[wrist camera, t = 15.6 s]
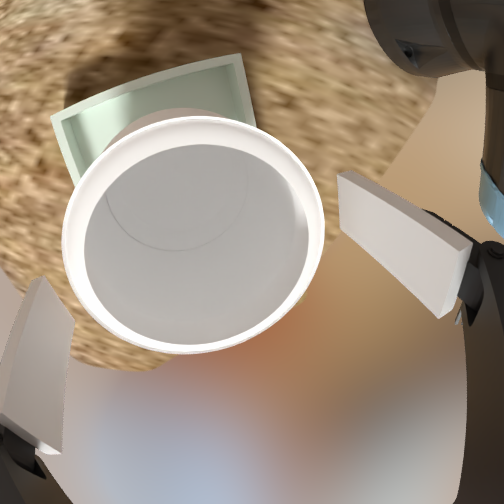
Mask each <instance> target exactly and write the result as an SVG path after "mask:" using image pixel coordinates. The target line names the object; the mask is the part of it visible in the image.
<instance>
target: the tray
mask: <svg viewBox="0 0 504 504" xmlns="http://www.w3.org/2000/svg"><path fill="white" fill-rule="evenodd" d="M171 108H196V109H202V110H207V111H211V112H214V113H217V114H220V115H222V116H224V117H227V118H229V119H231V120H235V121H238V122H242V123H245V124H248V125H250V126H253V127H255V128H257V127H256V122H255V117H254V112H253V107H252V103H251V98H250V93H249V88H248V84H247V79H246V74H245V70H244V65H243V60H242V56H241V53H237V54H231V55H226V56H221V57H216V58H211V59H206V60H202V61H198V62H193V63H189V64H185V65H182V66H178V67H174V68H171V69H167V70H164V71H160V72H157V73H154V74H151V75H147V76H144V77H141V78H138V79H136V80H133V81H130V82H127V83H124V84H122V85H119V86H116V87H114V88H111V89H109V90H106V91H104V92H101V93H99V94H96V95H94V96H92V97H89V98H87V99H85V100H83V101H81V102H78V103H76V104H74V105H72V106H70V107H68V108H66V109H64V110H62V111H60V112H58V113H56V114H54V115H52V116H50V118H51V122H52V125H53V128H54V131H55V134H56V137H57V140H58V143H59V146H60V149H61V152H62V154H63V157H64V160H65V163H66V165H67V168H68V170H69V173H70V176H71V178H72V181H73V183H74V186H75V188H76V186H77V184H78V183H79V181H80V179H81V178H82V176H83V175H84V174H85V172H86V171H87V170H88V168H89V167H90V166H91V165H92V164H93V162H94V161H95V160H96V159H97V158H98V157H99V156H100V155H101V153H102V152H103V150H104V149H105V148H106V146H107V145H108V144H109V143H110V141H111V140H112V139H113V138H114V137H115V136H116V135H117V134H118V133H119V132H120V131H122V130H123V129H124V128H125V127H127V126H128V125H129V124H131V123H132V122H134V121H136V120H138V119H139V118H141V117H144V116H146V115H148V114H151V113H154V112H157V111H161V110H165V109H171Z"/></svg>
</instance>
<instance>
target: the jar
mask: <svg viewBox="0 0 504 504" xmlns="http://www.w3.org/2000/svg"><path fill="white" fill-rule="evenodd" d="M323 243H324V214H323V208H322V203H321V199H320V196H319V193H318V191H317V188H316V186H315V184H314V182H313V180H312V178H311V176H310V174H309V173H308V171H307V170H306V168H305V167H304V165H303V164H302V163H301V161H300V160H299V159H298V158H297V157H296V156H295V155H294V154H293V153H292V152H291V151H290V150H289V149H288V148H287V147H286V146H285V145H283V144H282V143H281V142H279V141H278V140H277V139H275V138H274V137H272V136H271V135H269V134H267V133H265V132H263V131H261V130H259V129H257V128H255V127H253V126H250V125H248V124H245V123H242V122H238V121H235V120H231V119H229V118H227V117H224V116H222V115H220V114H217V113H214V112H211V111H207V110H202V109H196V108H171V109H165V110H161V111H157V112H154V113H151V114H148V115H146V116H144V117H141V118H139V119H138V120H136V121H134V122H132V123H131V124H129V125H128V126H127V127H125V128H124V129H123V130H122V131H120V132H119V133H118V134H117V135H116V136H115V137H114V138H113V139H112V140H111V141H110V143H109V144H108V145H107V146H106V148H105V149H104V150H103V152H102V153H101V155H100V156H99V157H98V158H97V159H96V160H95V161H94V162H93V164H92V165H91V166H90V167H89V168H88V170H87V171H86V172H85V174H84V175H83V176H82V178H81V179H80V181H79V183H78V184H77V186H76V188H75V190H74V192H73V194H72V196H71V198H70V201H69V204H68V207H67V210H66V213H65V217H64V222H63V229H62V255H63V262H64V266H65V270H66V274H67V277H68V280H69V282H70V285H71V287H72V289H73V291H74V293H75V295H76V296H77V298H78V300H79V301H80V303H81V304H82V305H83V307H84V308H85V309H86V311H87V312H88V313H89V314H90V315H91V316H92V317H93V318H94V319H95V320H96V321H97V322H98V323H99V324H100V325H101V326H103V327H104V328H105V329H107V330H108V331H109V332H111V333H112V334H114V335H116V336H117V337H119V338H121V339H123V340H125V341H127V342H129V343H131V344H134V345H136V346H139V347H142V348H145V349H149V350H153V351H157V352H163V353H171V354H196V353H206V352H211V351H216V350H221V349H225V348H228V347H231V346H234V345H237V344H239V343H242V342H244V341H246V340H248V339H251V338H252V337H254V336H256V335H258V334H259V333H261V332H263V331H265V330H266V329H268V328H269V327H271V326H272V325H273V324H274V323H276V322H277V321H278V320H280V319H281V318H282V317H283V316H284V315H285V314H286V313H287V312H288V311H289V310H290V309H291V308H292V307H293V306H294V305H295V304H296V302H297V301H298V300H299V299H300V297H301V296H302V295H303V293H304V292H305V290H306V289H307V287H308V285H309V284H310V282H311V280H312V278H313V276H314V274H315V271H316V269H317V266H318V263H319V261H320V257H321V253H322V249H323Z"/></svg>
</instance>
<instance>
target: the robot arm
mask: <svg viewBox="0 0 504 504" xmlns="http://www.w3.org/2000/svg"><path fill="white" fill-rule="evenodd" d="M364 1H365V9H366V13H367V17H368V21H369V23H370V26H371V29H372V31H373V33H374V35H375V37H376V39H377V41H378V42H379V44H380V46H381V47H382V49H383V50H384V52H385V53H386V54H387V55H388V57H389V58H390V59H391V60H392V61H393V62H394V63H395V64H396V65H397V66H399V67H400V68H401V69H403V70H404V71H406V72H408V73H410V74H413V75H416V76H424V77H432V78H435V77H442V76H446V75H450V74H454V73H458V72H462V71H467V70H471V69H474V70H479V71H485V74H486V117H485V135H484V148H483V157H482V159H481V163H480V167H481V178H480V188H479V202H480V206H481V209H482V211H483V213H484V215H485V217H486V219H487V220H488V222H489V223H490V224H491V225H492V226H493V227H494V228H495V230H496V231H497V232H498V234H500V236H501V237H503V239H504V0H364ZM337 182H338V197H339V217H340V229H341V230H342V231H343V232H345V233H346V234H347V235H348V236H349V237H350V238H352V239H353V240H354V241H355V242H357V244H359V245H360V246H361V247H362V248H363V249H364V250H366V251H367V252H368V253H369V254H370V255H372V256H373V258H375V259H376V260H377V261H378V262H379V263H381V265H383V266H384V267H385V268H386V269H387V270H388V271H389V272H390V273H391V274H392V275H393V276H395V277H396V278H397V279H398V280H399V281H400V282H401V283H402V284H403V285H404V286H405V287H406V288H407V289H408V290H410V291H411V292H412V293H413V294H414V295H415V296H416V297H417V298H418V299H419V300H420V301H421V302H422V303H423V304H424V305H425V306H426V307H427V308H428V309H429V310H430V311H431V312H432V313H433V314H434V315H435V316H436V317H437V318H438V319H439V318H441V317H442V316H444V315H445V314H446V313H448V312H449V311H451V310H452V309H453V307H454V304H455V301H456V298H457V296H458V297H459V298H460V299H461V300H462V304H461V307H460V309H459V312H458V314H457V317H456V319H455V324H458V322H459V319H460V317H461V316H462V323H461V325H463V331H464V340H465V352H466V370H467V423H466V437H465V448H464V458H463V467H462V473H461V479H460V485H459V490H458V495H457V498H456V500H455V502H454V503H453V504H504V245H502V244H501V243H499V242H495V241H485V242H483V243H482V244H480V243H479V242H477V241H476V240H475V239H473V238H472V237H470V236H469V235H467V234H466V233H464V232H463V231H461V230H460V229H458V228H457V227H455V226H452V224H450V223H449V222H448V221H446V220H445V221H444V219H443V218H441V217H440V216H438V215H437V214H435V213H433V212H430V211H427V210H424V209H420V208H419V207H417V206H415V205H414V204H412V203H410V202H409V201H407V200H405V199H404V198H402V197H400V196H398V195H397V194H395V193H393V192H391V191H389V190H387V189H386V188H384V187H382V186H380V185H379V184H377V183H375V182H373V181H371V180H369V179H367V178H365V177H363V176H362V175H360V174H358V173H356V172H354V171H352V170H350V171H347V172H343V173H339V174H337ZM74 326H75V320H74V318H73V317H72V316H71V314H70V313H69V312H68V310H67V309H66V307H65V306H64V304H63V303H62V302H61V300H60V299H59V297H58V296H57V294H56V293H55V291H54V290H53V288H52V287H51V285H50V284H49V282H48V280H47V279H46V277H45V276H44V275H43V276H41V277H38V278H36V279H34V280H32V281H31V283H30V285H29V288H28V290H27V292H26V294H25V297H24V299H23V301H22V304H21V307H20V309H19V311H18V314H17V316H16V319H15V322H14V324H13V327H12V330H11V333H10V335H9V338H8V341H7V344H6V347H5V351H4V353H3V357H2V360H1V363H0V504H73V503H72V502H71V500H70V499H69V498H68V497H67V495H66V494H65V493H64V491H63V490H62V489H61V487H60V486H59V484H58V483H57V482H56V480H55V479H54V477H53V476H52V474H51V473H50V472H49V470H48V469H47V467H46V466H45V464H44V462H43V461H42V460H41V458H40V457H39V456H37V455H35V448H37V449H39V450H40V451H42V452H44V453H45V454H62V430H63V410H64V397H65V386H66V378H67V369H68V362H69V355H70V348H71V342H72V337H73V331H74Z"/></svg>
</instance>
